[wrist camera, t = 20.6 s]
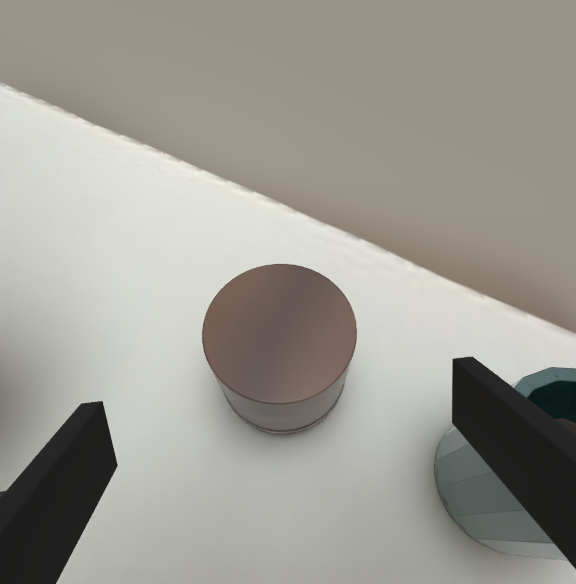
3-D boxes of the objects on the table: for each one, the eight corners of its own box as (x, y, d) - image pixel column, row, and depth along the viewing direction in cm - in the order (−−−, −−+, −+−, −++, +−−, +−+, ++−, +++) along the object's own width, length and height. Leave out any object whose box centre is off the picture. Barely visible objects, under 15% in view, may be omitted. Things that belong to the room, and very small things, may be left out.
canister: (418, 511, 25) (481, 502, 17) (451, 397, 29) (516, 342, 20) (554, 582, 23) (705, 614, 15) (571, 449, 27) (699, 413, 18)
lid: (202, 404, 29) (169, 360, 21) (260, 308, 33) (249, 243, 26) (312, 462, 27) (318, 436, 19) (360, 352, 31) (380, 295, 23)
